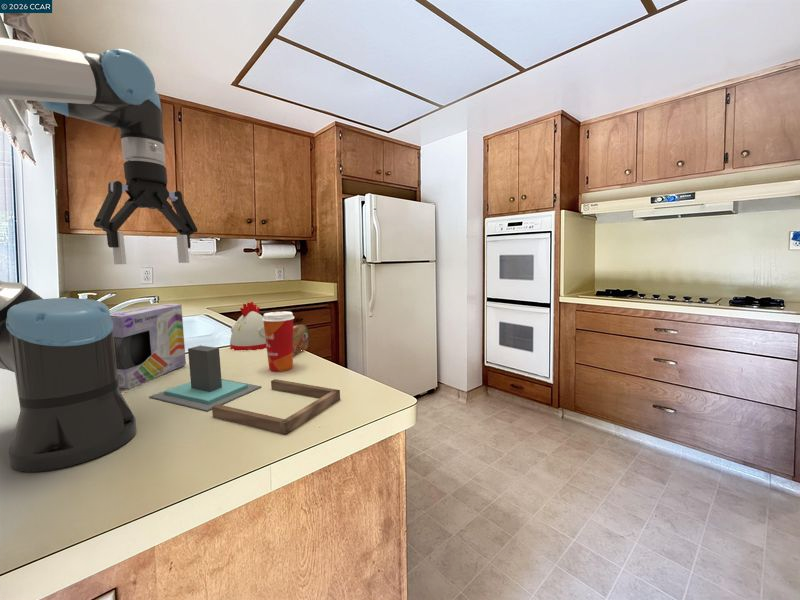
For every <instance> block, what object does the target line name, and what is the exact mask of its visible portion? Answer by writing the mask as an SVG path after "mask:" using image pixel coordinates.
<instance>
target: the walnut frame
mask: <svg viewBox="0 0 800 600" xmlns="http://www.w3.org/2000/svg"><path fill="white" fill-rule="evenodd" d="M270 386H271V387H270V388H271V390H272V391H273V390H274V391H279V392H283V393H290V394H295V395H300V396H306V397H313V398H317V399H316V400H315V401H313V402H311V403H309V404H308V405H306V406H305V407H303V408H301V409H300V410H297V411H296V412H294V413H292V414H291V415H290V416H288V417H286V418H281V417H277V416H276V417H275V416H271V415H267V414H263V413H257V412H254V411H249V410H245V409H240V408H238V407H237V408H236V407H232V406H227V405H224V404H223V405H219V404H217V405H214V406H212V410H211V415H212V417H213V418H216V419H221V420H224V419H225V421H228V422H233V423H236V424H239V425H240V424H241V425H245V426H249V427H253V428H257V429H261V430H265V431H268V432H274V433H278V434H282V435H288V434H289V433H290V432H293V430H295V429H297V428H298V427H300V426H301V425H303V424H304V423H306V422H308V421H309V420H310V419H312V418H314V417H315V416H317V415H319V414H320V413H321V412H323V411H324V410H326V409H328V408H329V407H331V406H332V405H334V404H335V403H337V402H338V401H340V400H341V389H337V388H330V387H329V388H328V387H325V386H318V385H313V384H305V383H300V382H294V381H287V380H282V379H276V378H275V379H272V380H270Z"/></svg>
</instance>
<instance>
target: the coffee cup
mask: <svg viewBox="0 0 800 600" xmlns="http://www.w3.org/2000/svg"><path fill="white" fill-rule="evenodd" d="M293 314H294V313H293V312H292V311H274V312H273V311H272V312H265V313H263V315H262V316H263V319H262V320H263V322H264V330H265V338H266V347H267V348H266V353H267V363H268V367H269V371H270V370H271V371H270V372H280V371H281V372H286V370H287V371H290V370H292V369H293V366H294V364H293V363H294V357H293V326H294V319H295V316H294V315H293ZM281 372H280V373H281Z"/></svg>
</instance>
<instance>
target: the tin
mask: <svg viewBox="0 0 800 600" xmlns="http://www.w3.org/2000/svg"><path fill="white" fill-rule="evenodd" d="M309 344H310V332H309V328H308V327H307V325H305V324H296V325H293V358H294V357H296V356H298V355H300V354H301V353H302V352H304V351H306V350H307V349H308V347H309ZM301 350H302V351H301Z"/></svg>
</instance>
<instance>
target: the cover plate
mask: <svg viewBox="0 0 800 600" xmlns="http://www.w3.org/2000/svg"><path fill="white" fill-rule="evenodd" d="M187 352H188V353H187V354H188V365H189V366H188V367H189V376H190V381H188V382H187V383H183V384H180V385H177V386H175V387H172V388H170V389H169V388H168V389H166V390H164V391H163V392H164V395H169V396H173V397H177V398H182V399H186V400H191V401H195V402H199V403H204V404H208V405H209V404H212V403H214V402H216V401H219V400H221V399H223V398H226V397H228V396H230V395H233V394H235V393H237V392H240V391H242V390H244V389H247V388H248V385H247V384H248V383H246V384H242V383H243V382H241V383H236V382H237V381H235V382H231V381H232V380H230V381H225V380H226V379H224V380H221V379H222V372H221V371H222V370H221V367H222V366H221V358H220V357H221V356H220V348H219V347H215V346H214V347H213V346H209V345H208V346H207V345H197V346H193V347H189V348H188V349H187Z"/></svg>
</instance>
